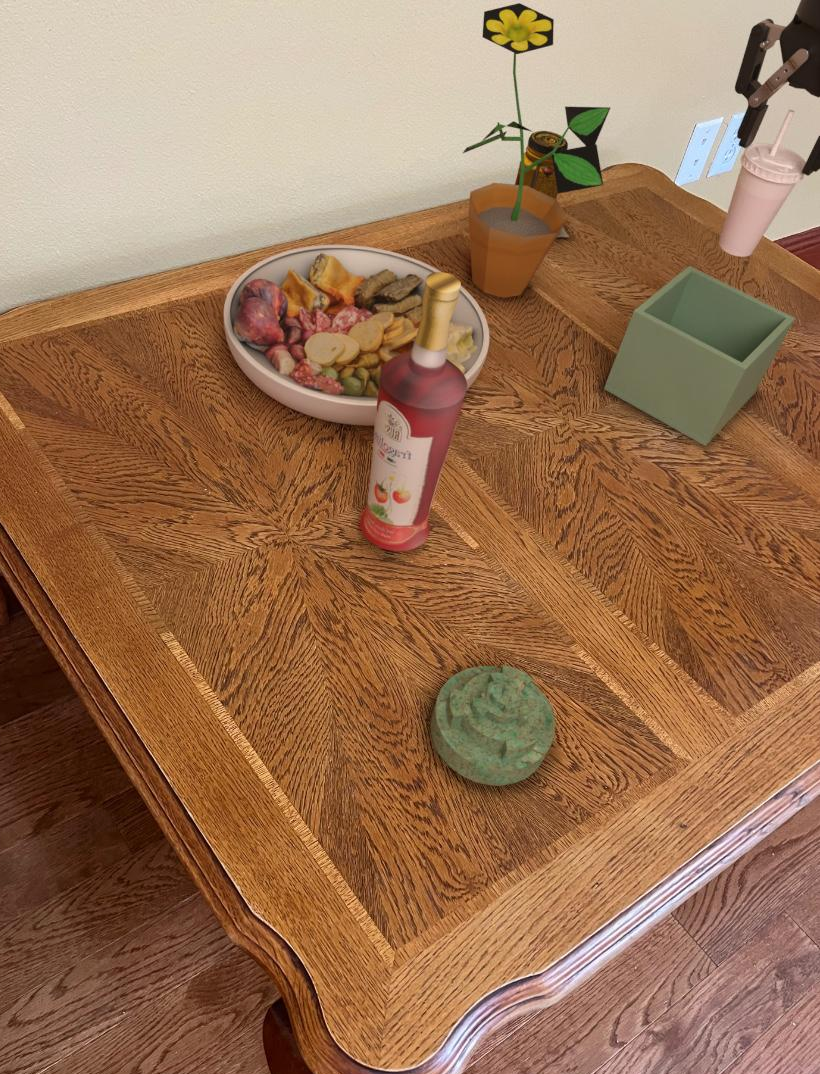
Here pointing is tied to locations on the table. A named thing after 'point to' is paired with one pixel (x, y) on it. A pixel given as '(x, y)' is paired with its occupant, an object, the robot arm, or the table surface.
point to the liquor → (414, 425)
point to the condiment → (542, 165)
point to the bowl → (338, 327)
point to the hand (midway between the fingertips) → (776, 157)
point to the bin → (696, 353)
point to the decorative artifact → (492, 725)
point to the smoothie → (760, 192)
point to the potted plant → (516, 210)
